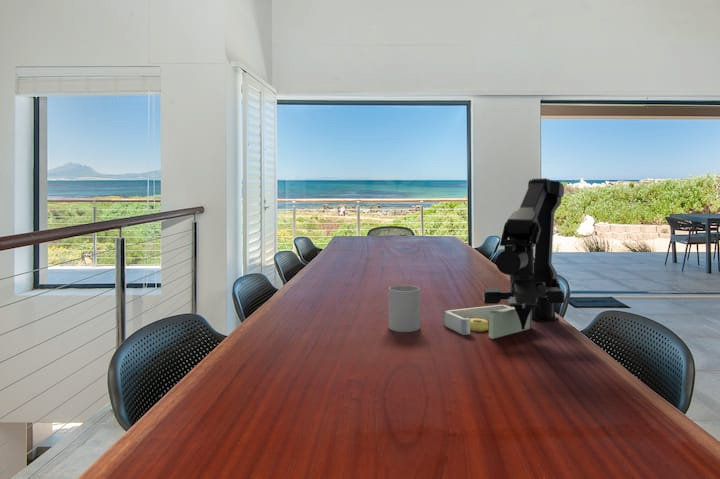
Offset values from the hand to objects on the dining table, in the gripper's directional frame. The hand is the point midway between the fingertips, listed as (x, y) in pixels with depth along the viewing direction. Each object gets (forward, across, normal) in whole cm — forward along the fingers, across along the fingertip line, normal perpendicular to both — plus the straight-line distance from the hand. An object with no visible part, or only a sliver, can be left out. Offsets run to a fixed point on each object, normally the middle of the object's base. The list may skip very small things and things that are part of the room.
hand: (522, 329), depth 116 cm
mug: (+1, -30, +6) cm, 31 cm away
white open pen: (+2, -9, +9) cm, 13 cm away
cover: (+2, -3, +3) cm, 4 cm away
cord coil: (+2, -11, +6) cm, 13 cm away
